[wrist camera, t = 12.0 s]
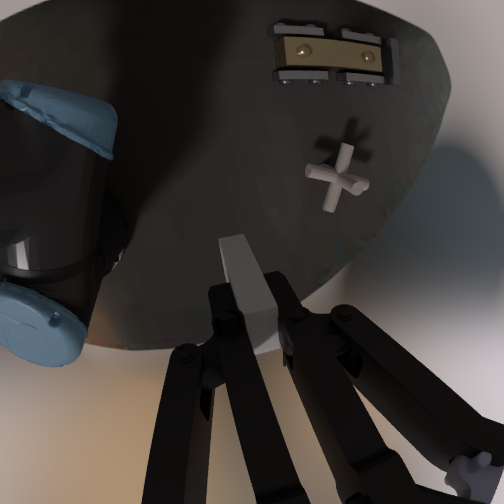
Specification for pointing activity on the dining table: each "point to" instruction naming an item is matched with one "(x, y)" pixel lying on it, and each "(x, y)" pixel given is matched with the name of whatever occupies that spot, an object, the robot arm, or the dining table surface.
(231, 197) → the dining table surface
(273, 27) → the chain end
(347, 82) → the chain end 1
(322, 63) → the link
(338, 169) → the pipe connector
